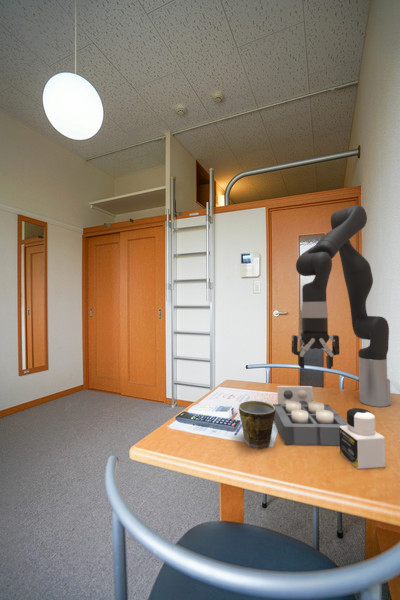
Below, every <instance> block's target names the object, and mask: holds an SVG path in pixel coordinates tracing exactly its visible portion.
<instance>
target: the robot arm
mask: <svg viewBox="0 0 400 600" xmlns="http://www.w3.org/2000/svg"><path fill="white" fill-rule="evenodd" d="M367 222H368V215H367V212H366V210H365V208H364V207H363V206H362V205H358V204H357V205H356V204H355V205H352V206H349V207H348V206H347V207H345V208H343V209H340V210H337V211H335V212H333V213H332V214H331V215H330V226H331V230H329V232H327V233H325V234H324V235H323V236H322V237H321V238H320V239H319V240H318V242H317V243H316V244H315V245H314V246H312V247H310V248H309V249H307V250H306V251H304V252H302V254H301V255H300V256H298V258H297V260H296V263H295V269H296V272H297V274H298V275H300V276H303V277H311V276H314V278H313V280H312V281H311V282H307V283H305V284H304V285H302V289H301V291H302V292H301V293H302V294H301V295H302V296H301V297H302V304H301V334H300V335H297V334H292V335H291V354H294V356H295V355H296V356H297V364H298V365H297V366H298V367H300V369H302V370H303V369H305V354H306V353H307V352H308V351H309V350H314V349H318V350H322V351H324V353H325V354H326V355H325V356H326V357H325V358H326V359H325V363H326V364H325V365H326V366H325V367H326V368H327V370H329V369H330V370H331V369H332V368H333V367H334V356H336V355H337V356H338V355H340V337H339V335H336V334H332V335H329V332H328V331H329V329H328V328H329V326H328V325H329V323H328V322H329V319H328V316H329V313H328V304H327V303H328V302H327V288H328V282H329V278H330V274H331V272H332V268H333V260H332V259H333V258H334V257H335V256H336V255H337V254H338V253H339V258H340V262H341V268H342V272H343V278H344V283H345V286H346V291H347V296H348V301H349V308H350V316H351V317H350V319H351V325H352V330H353V334H354V335H355V336H356V337H357V338H358V339H360V340H368V341H369V345H368V346H367V347H363V348H360V349H359V350H358V381H359V382H358V386H359V388H358V389H359V392H358V393H359V402H360V403H361V404H364V405H366V406H372V407H378V408H379V407H383V408H384V407H388V406H391V404H392V401H391V380H390V379H389V378H388V352H389V338H390V326H389V322H388V320H387V319H386V318H385V317H383V316H376V315H368V312H367V305H366V304H367V298H368V297H369V295H370V292H371V290H372V287H373V283H374V278H373V273H372V268H371V265H370V262H369V261H368V260H367V258H365V257H364V255H362V254H361V253H360V252H359V251H358V250H357V249H356V248H355V247H354V246H353V244H352V243H351V241H350V239H351V238H352V237H354V236H355V235H356V234H357V233H359V232H360V231H361V230H363V229H364V228H365V226H366V224H367ZM300 340H301V341H302V342H303V344H301V346H300V348H299V347H298V343H299V342H300ZM329 340H330V342H331V347H332V348H330V347H329V345H328V344H327V343H328V341H329ZM298 348H299V350H298Z"/></svg>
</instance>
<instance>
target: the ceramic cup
mask: <svg viewBox="0 0 400 600" xmlns="http://www.w3.org/2000/svg"><path fill="white" fill-rule="evenodd" d="M238 411H239V417H240V421H241V427H242V431H243V432H242V433H243V438H244V442H245V444H246V445H247V446H248V447H249V448H252V449H255V450H261V449H267V448H268V446H270V444H271V439H272V431H273V428H274V427H273V425H274V423H275V422H274V417H275V407H274V406H273V403H272V404H271V403H269V402H267V401H261V400H249V401H248V400H247V401H243V402H241V403H240V404H239V405H238Z"/></svg>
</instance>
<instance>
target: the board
mask: <svg viewBox="0 0 400 600" xmlns="http://www.w3.org/2000/svg"><path fill="white" fill-rule="evenodd" d="M272 405H273V406H274V407H275V417H274V422H273V423H274V424H275V426H276V429H277V431H278V433H279V435H280V437H281V439H282V442H283V444H284V445H285V446H309V447H310V446H314V447H315V446H317V447H318V446H321V447H340V434H339V427H340V426H345V425H347V420H345V419H344V418H343V417H342V416H341V415H340V414H338V413H337V411H336V410H334V408H332V406H331V405H329V404H324V410H328V411H331V412H332V413H333V418H334V424H317V422H316V414H309V411H308V404H301V410H305V411H307V412H308V424H293V423H292V415H291V414H286V404H278V403H272Z"/></svg>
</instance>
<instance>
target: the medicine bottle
mask: <svg viewBox="0 0 400 600" xmlns="http://www.w3.org/2000/svg"><path fill="white" fill-rule="evenodd" d="M346 422H347V425H345V426H340V427H339V434H340V446H339V453H340V455H342V456H343V457H344V458H345V459H346V460H347V461H348V462H349V463H350V464H351V465H353V466H354V467H355V468H356V469H357V470H361V469H362V470H363V469H364V470H365V469H376V468H377V469H379V468H385V467H386V466H387V465H386V437H385V436H384V435H382V434H381V433H379V432H377V431H376V415H375V414H374V413H373V412H371V411H369V410H367V409H364V408H359V407H358V408H357V407H353V408H349V409H348V410H347V411H346Z"/></svg>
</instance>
